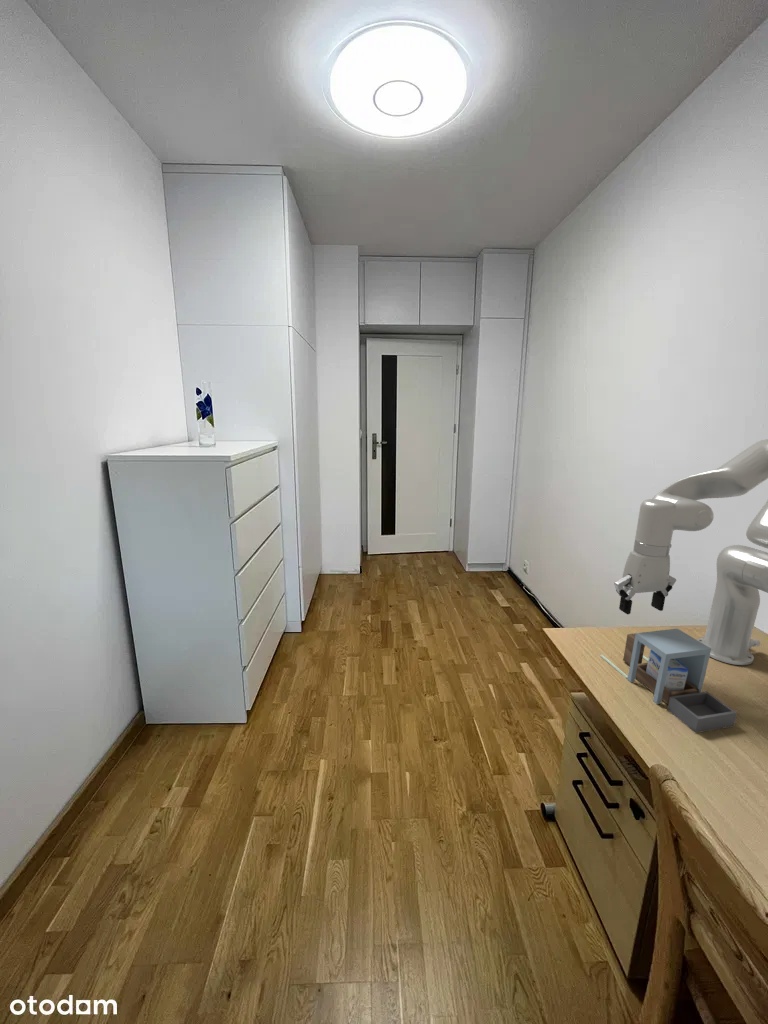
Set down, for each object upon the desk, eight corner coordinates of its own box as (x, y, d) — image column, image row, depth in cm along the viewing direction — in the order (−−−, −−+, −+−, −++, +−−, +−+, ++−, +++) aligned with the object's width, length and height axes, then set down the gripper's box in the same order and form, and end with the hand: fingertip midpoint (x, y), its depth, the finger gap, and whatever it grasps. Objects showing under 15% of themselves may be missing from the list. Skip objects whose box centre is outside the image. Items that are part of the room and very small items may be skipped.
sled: (640, 658, 112) (644, 632, 110) (697, 700, 96) (704, 671, 94) (615, 661, 111) (619, 635, 109) (668, 705, 94) (675, 675, 92)
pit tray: (703, 704, 95) (706, 691, 95) (733, 726, 89) (737, 712, 88) (667, 709, 94) (670, 696, 93) (695, 732, 87) (698, 719, 86)
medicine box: (644, 678, 105) (649, 648, 102) (661, 678, 104) (667, 648, 102) (663, 699, 97) (669, 668, 95) (682, 699, 97) (689, 668, 95)
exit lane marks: (636, 651, 116) (636, 650, 116) (666, 673, 107) (666, 672, 106) (599, 655, 114) (599, 654, 114) (626, 678, 104) (626, 677, 104)
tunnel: (668, 674, 106) (677, 628, 103) (699, 697, 98) (711, 648, 94) (627, 679, 104) (635, 633, 101) (656, 704, 95) (666, 654, 92)
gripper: (668, 541, 107) (657, 600, 111) (610, 545, 104) (601, 606, 108) (694, 551, 100) (681, 614, 104) (632, 556, 97) (622, 620, 101)
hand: (640, 610), depth 106 cm, fingers open, 9 cm apart
